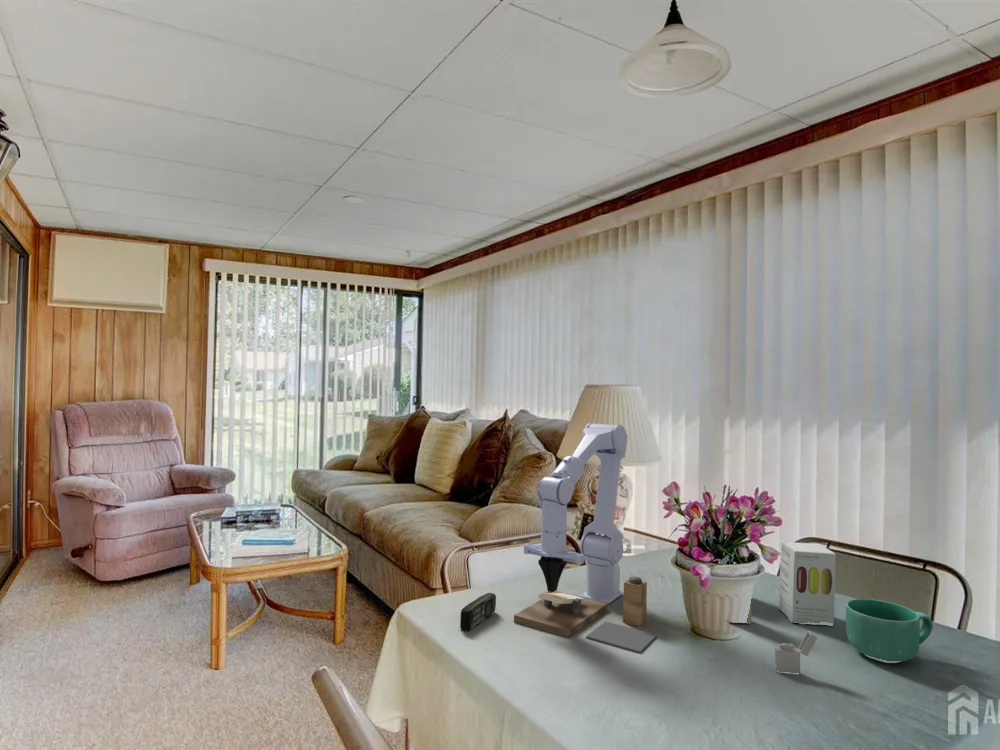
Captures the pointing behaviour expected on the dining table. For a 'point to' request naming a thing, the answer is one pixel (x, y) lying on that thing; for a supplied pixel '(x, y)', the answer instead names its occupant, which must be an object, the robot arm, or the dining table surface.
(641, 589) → the wood grain block
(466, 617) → the mobile phone
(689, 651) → the dining table surface
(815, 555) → the supplement box
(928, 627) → the mug
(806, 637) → the lighter
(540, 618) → the switch panel
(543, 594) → the white two-tone slab
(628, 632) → the rest mat
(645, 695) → the dining table surface
